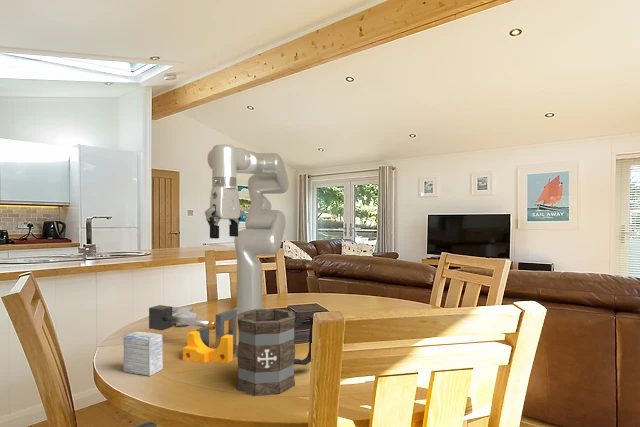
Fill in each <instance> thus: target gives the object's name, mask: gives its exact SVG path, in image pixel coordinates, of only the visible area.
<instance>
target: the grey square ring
mask: <svg viewBox="0 0 640 427" xmlns="http://www.w3.org/2000/svg"><path fill="white" fill-rule="evenodd" d="M237 318H238V315H237V310H236V309H234V308H231V309H228V310H225V311H222V312H219V313H216V314H215V321H216V328H215V346H212V347H211V348H212V349H216V348H217V347H218V346H219V344H220V341H221V337H223V336H225V335H233V359H234V358H236V357H238V356H237V353H238V344H237V332H238V331H237V330H238V328H237V327H238V320H237ZM226 321H227V322H228V323H227V324H228V327H227V328H228V330H227V331H228V332H225V322H226ZM195 331H199V332H200V338H201V340H202V342H203V343H204V344H205V345H206V346H207V347H209V348H210V329H209V328H206V327H200V328H198V329H196V330H195Z"/></svg>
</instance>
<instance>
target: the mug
mask: <svg viewBox="0 0 640 427" xmlns="http://www.w3.org/2000/svg"><path fill="white" fill-rule="evenodd" d="M307 319H309V323H310V324H309V325H310V329H309V334H308V337H309V339H308V340H309V341H308V353H307V355H306V357H305V358H303V359H299V358H296V344H295V330H296V329H299V327H300V326H302V324H303V322H304V321H306V320H307ZM312 324H313V315H311V314H310V313H303V314H301V315H300V316H298V317H297V318H296V315H295V312H294V311H293V310H287V309H283V308H282V309H281V308H266V309H253V310H250V311H246V312H242V313H238V315H237V327H238V328H237V330H238V342H237V343H238V344H237V345H238V353H237V356H236V357H237V366H238V370H237V371H238V372H237V373H238V376H237V382H236V390H237V391H239V392H242V393H245V394H247V395H251V396H253V397H260V396H261V397H262V396H273V395H274V396H275V395H276V396H277V395H281V394H283V393H285V392H287V391H288V390H290V389H293V387H295V386H296V382H295V381H296V380H295V366H298V365H303V366H306V365H308V364H310V363H311V362H312V361H311V343H312Z"/></svg>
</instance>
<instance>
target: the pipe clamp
mask: <svg viewBox="0 0 640 427" xmlns="http://www.w3.org/2000/svg"><path fill="white" fill-rule="evenodd" d="M186 336H187V337H186V346H184V347H182V361H184V362H185V361H186V362H194V363H201V364H206V363H207V362H213V363H214V362H215V363H221V364H229V363H230V362H232V361H233V360H234V358H233V335H225V336H223V337H221V341H220V344H219V346H218V347H217V348H216V349H212V347H210V346H209V347H207V346H206V345H205V344H204V343H203V342H202V340H201V338H200V332H199V331H196V330H193V331H190V332H188V333H186Z"/></svg>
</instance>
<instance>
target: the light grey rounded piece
mask: <svg viewBox="0 0 640 427" xmlns="http://www.w3.org/2000/svg"><path fill="white" fill-rule="evenodd" d="M171 307H172V316H177V317H184V318H191V319H198V313H197V312H194V311H193V310H194V308H193V306H192V305H187V306H171ZM172 324H174V323H173V322H172ZM186 326H187V325H186V324H179V323H175V327H186Z"/></svg>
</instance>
